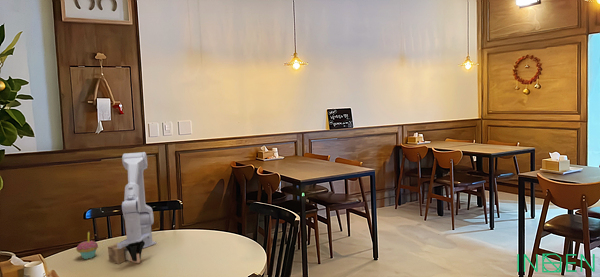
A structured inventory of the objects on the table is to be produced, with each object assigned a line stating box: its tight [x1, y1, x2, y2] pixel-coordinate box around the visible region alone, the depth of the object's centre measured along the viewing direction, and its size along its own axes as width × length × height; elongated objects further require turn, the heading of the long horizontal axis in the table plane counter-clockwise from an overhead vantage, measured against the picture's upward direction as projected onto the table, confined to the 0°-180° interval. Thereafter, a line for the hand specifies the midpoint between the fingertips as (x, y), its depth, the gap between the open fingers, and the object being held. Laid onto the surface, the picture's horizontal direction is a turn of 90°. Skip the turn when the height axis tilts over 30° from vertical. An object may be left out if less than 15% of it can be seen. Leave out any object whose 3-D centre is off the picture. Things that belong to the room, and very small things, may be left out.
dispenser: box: [107, 243, 127, 265], centre depth 190 cm, size 8×9×6 cm
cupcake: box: [75, 231, 99, 260], centre depth 193 cm, size 9×8×12 cm
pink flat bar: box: [124, 250, 141, 264], centre depth 187 cm, size 12×1×4 cm, turn 53°
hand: (136, 259), depth 184 cm, fingers closed on pink flat bar
